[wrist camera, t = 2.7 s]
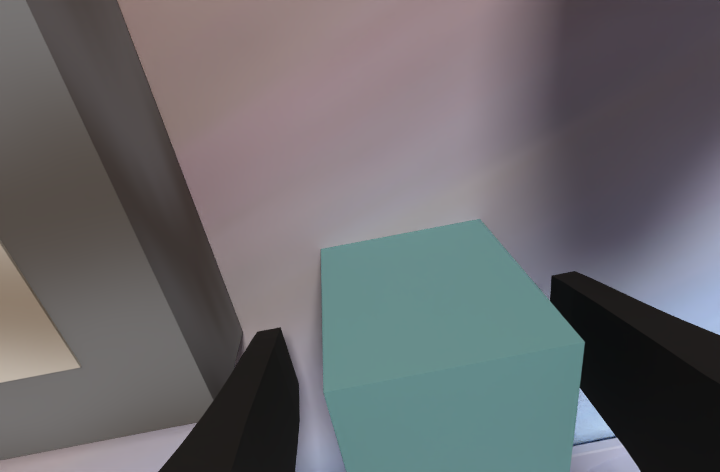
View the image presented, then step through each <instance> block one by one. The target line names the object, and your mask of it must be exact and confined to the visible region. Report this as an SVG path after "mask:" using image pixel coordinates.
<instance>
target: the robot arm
mask: <svg viewBox="0 0 720 472" xmlns="http://www.w3.org/2000/svg"><path fill="white" fill-rule="evenodd" d="M550 302H551V303H552V304H553V305H554V307H555V308H556V309H557V310H558V311H559V312H560V314H561V315H562V316H563V317H564V318H565V319H566V321H567V322H568V323H569V324H570V325H571V326H572V328H573V329H574V330H575V331H576V332H577V333H578V335H579V336H580V337H581V338H582V339H583V340H584V342H585V345H584V354H583V363H582V371H581V380H580V388H581V390H582V391H583V393H584V394H585V395H586V397H587V398H588V399H589V401H590V402H591V403H592V405H593V406H594V407H595V409H596V410H597V411H598V413H599V414H600V415H601V417H602V418H603V419H604V421H605V422H606V423H607V425H608V426H609V427H610V429H611V430H612V431H613V433H614V434H615V435H616V437H617V438H612V439H607V440H602V441H597V442H592V443H587V444H582V445H576V446H573V449H572V457H571V466H570V472H720V335H718V334H715V333H713V332H710V331H708V330H705V329H703V328H701V327H698V326H696V325H693V324H691V323H688V322H686V321H683V320H681V319H679V318H677V317H674V316H672V315H670V314H667V313H665V312H663V311H661V310H658V309H656V308H654V307H652V306H650V305H647V304H645V303H643V302H641V301H639V300H637V299H634V298H632V297H630V296H628V295H626V294H624V293H622V292H620V291H617V290H615V289H613V288H611V287H609V286H607V285H605V284H603V283H600V282H598V281H596V280H594V279H592V278H589V277H587V276H585V275H583V274H580V273H578V272H575V271H574V272H568V273H563V274H558V275H553V276H552V279H551V295H550ZM299 422H300V418H299V383H298V380H297V377H296V374H295V371H294V368H293V365H292V361H291V358H290V355H289V352H288V349H287V346H286V343H285V340H284V337H283V334H282V331H281V327H280V328H275V329H269V330H264V331H259V332H257V333H256V335H255V336H254V338H253V339H252V341H251V342H250V344H249V346H248V347H247V349H246V351H245V352H244V354H243V355H242V357H241V359H240V360H239V362H238V364H237V365H236V367H235V368H234V370H233V372H232V373H231V375H230V376H229V378H228V379H227V381H226V382H225V384H224V385H223V387H222V388H221V390H220V391H219V393H218V394H217V396H216V397H215V399H214V400H213V402H212V403H211V405H210V406H209V407H208V409H207V410H206V412H205V413H204V414H203V416H202V417H201V419H200V420H199V421H198V423H197V424H196V425H195V427H194V428H193V430H192V431H191V432H190V434H189V435H188V436H187V437H186V439H185V440H184V441H183V443H182V444H181V445H180V446H179V448H178V449H177V450H176V451H175V453H174V454H173V455H172V456H171V457H170V459H169V460H168V461H167V462H166V463H165V464H164V466H163V467H162V468H161V469H160V470H159V472H295V465H296V455H297V444H298V433H299Z"/></svg>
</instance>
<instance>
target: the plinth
mask: <svg viewBox="0 0 720 472" xmlns="http://www.w3.org/2000/svg"><path fill="white" fill-rule="evenodd" d="M242 333H243V332H242V329H241V326H240V324H239V321H238V318H237V316H236V313H235V311H234V308H233V305H232V303H231V300H230V297H229V295H228V292H227V290H226V287H225V284H224V282H223V279H222V276H221V274H220V271H219V269H218V266H217V263H216V261H215V258H214V255H213V253H212V250H211V247H210V245H209V242H208V240H207V237H206V234H205V232H204V229H203V226H202V224H201V221H200V219H199V216H198V213H197V211H196V208H195V205H194V203H193V200H192V198H191V195H190V192H189V190H188V187H187V184H186V182H185V179H184V176H183V174H182V171H181V169H180V166H179V163H178V161H177V158H176V155H175V153H174V150H173V148H172V145H171V142H170V140H169V137H168V134H167V132H166V129H165V127H164V124H163V121H162V119H161V116H160V113H159V111H158V108H157V106H156V103H155V100H154V98H153V95H152V92H151V90H150V87H149V84H148V82H147V79H146V77H145V74H144V71H143V69H142V66H141V63H140V61H139V58H138V56H137V53H136V50H135V48H134V45H133V42H132V40H131V37H130V35H129V32H128V29H127V27H126V24H125V21H124V19H123V16H122V14H121V11H120V8H119V6H118V3H117V0H0V460H4V459H9V458H15V457H20V456H25V455H30V454H35V453H41V452H46V451H51V450H56V449H61V448H67V447H72V446H77V445H82V444H87V443H93V442H98V441H103V440H108V439H113V438H119V437H124V436H129V435H134V434H139V433H145V432H150V431H155V430H160V429H166V428H171V427H176V426H181V425H186V424H192V423H197V422H198V421H199V420H200V419H201V417H202V416H203V414H204V413H205V412H206V410H207V409H208V407H209V406H210V405H211V403H212V402H213V400H214V399H215V397H216V396H217V394H218V393H219V391H220V390H221V388H222V387H223V385H224V384H225V382H226V381H227V379H228V378H229V376H230V375H231V373H232V372H233V369H234V365H235V361H236V357H237V353H238V349H239V345H240V341H241V337H242Z"/></svg>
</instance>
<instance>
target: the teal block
mask: <svg viewBox="0 0 720 472" xmlns="http://www.w3.org/2000/svg"><path fill="white" fill-rule="evenodd" d="M321 285H322V340H323V393H324V396H325V400H326V403H327V407H328V410H329V414H330V417H331V420H332V424H333V427H334V431H335V434H336V438H337V441H338V445H339V448H340V451H341V455H342V458H343V462H344V465H345V469H346V472H570V466H571V457H572V449H573V440H574V431H575V423H576V414H577V406H578V397H579V388H580V380H581V371H582V363H583V354H584V345H585V342H584V340H583V339H582V338H581V337H580V336H579V335H578V333H577V332H576V331H575V330H574V329H573V328H572V326H571V325H570V324H569V323H568V322H567V321H566V319H565V318H564V317H563V316H562V315H561V314H560V312H559V311H558V310H557V309H556V308H555V307H554V305H553V304H552V303H551V302H550V301H549V300H548V298H547V297H546V296H545V295H544V294H543V292H542V291H541V290H540V289H539V288H538V287H537V285H536V284H535V283H534V282H533V281H532V280H531V278H530V277H529V276H528V275H527V274H526V273H525V271H524V270H523V269H522V268H521V267H520V266H519V264H518V263H517V262H516V261H515V260H514V259H513V257H512V256H511V255H510V254H509V253H508V252H507V250H506V249H505V248H504V247H503V246H502V245H501V243H500V242H499V241H498V240H497V239H496V237H495V236H494V235H493V234H492V233H491V232H490V230H489V229H488V228H487V227H486V226H485V225H484V223H483V222H482V221H481V220H480V219H477V220H472V221H467V222H462V223H456V224H451V225H446V226H441V227H435V228H430V229H425V230H420V231H414V232H409V233H404V234H398V235H393V236H388V237H383V238H377V239H372V240H367V241H362V242H356V243H351V244H346V245H341V246H335V247H330V248H325V249H321Z"/></svg>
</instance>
